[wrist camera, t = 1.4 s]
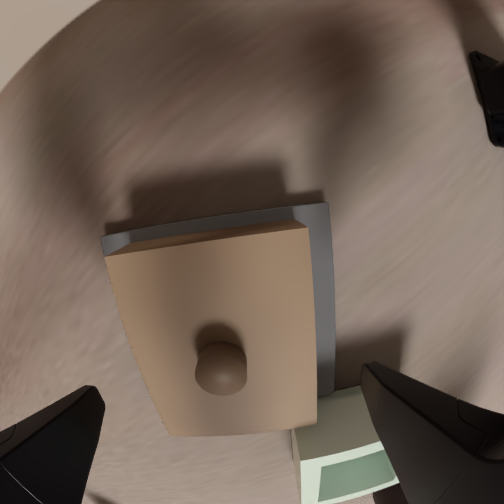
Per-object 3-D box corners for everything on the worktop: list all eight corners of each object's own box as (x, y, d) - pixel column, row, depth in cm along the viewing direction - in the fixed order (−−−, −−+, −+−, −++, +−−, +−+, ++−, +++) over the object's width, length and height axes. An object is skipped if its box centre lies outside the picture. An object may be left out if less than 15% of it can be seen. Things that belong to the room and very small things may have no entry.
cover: (294, 219, 11) (316, 232, 8) (307, 391, 13) (321, 439, 10) (130, 242, 11) (90, 264, 8) (178, 403, 13) (166, 450, 10)
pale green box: (399, 373, 14) (434, 419, 10) (383, 439, 16) (403, 480, 11) (288, 400, 14) (300, 461, 10) (293, 461, 16) (301, 509, 11)
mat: (324, 202, 12) (328, 202, 11) (331, 385, 14) (334, 392, 13) (105, 235, 12) (100, 237, 11) (159, 403, 14) (156, 409, 13)
